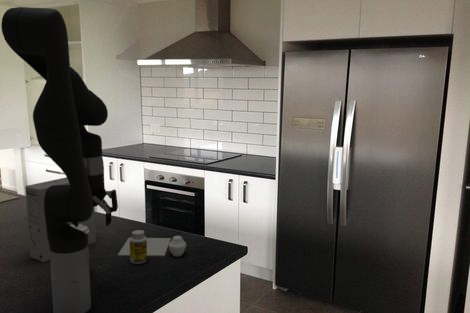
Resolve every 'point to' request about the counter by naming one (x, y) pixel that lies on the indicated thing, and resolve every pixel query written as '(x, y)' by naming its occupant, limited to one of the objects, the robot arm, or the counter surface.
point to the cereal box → (38, 223)
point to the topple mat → (149, 247)
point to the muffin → (177, 246)
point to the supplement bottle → (138, 247)
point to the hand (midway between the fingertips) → (92, 225)
